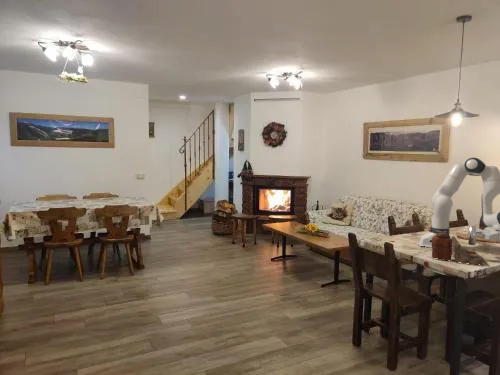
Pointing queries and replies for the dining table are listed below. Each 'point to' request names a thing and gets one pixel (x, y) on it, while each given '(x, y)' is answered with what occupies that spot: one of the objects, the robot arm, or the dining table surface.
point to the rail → (465, 254)
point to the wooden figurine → (442, 246)
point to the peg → (471, 238)
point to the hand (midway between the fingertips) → (471, 234)
